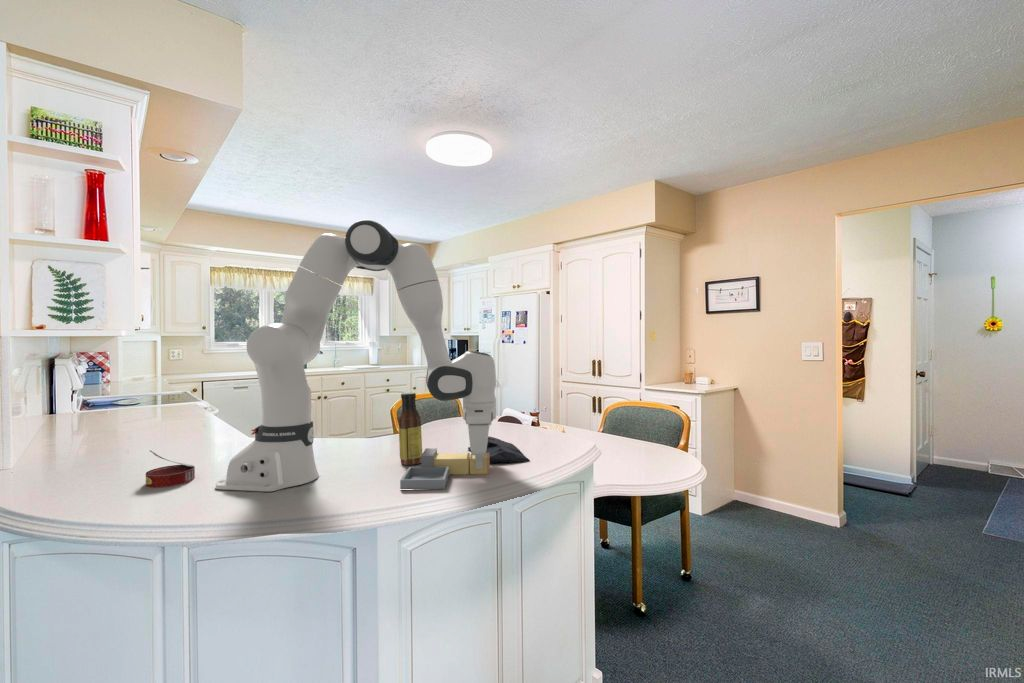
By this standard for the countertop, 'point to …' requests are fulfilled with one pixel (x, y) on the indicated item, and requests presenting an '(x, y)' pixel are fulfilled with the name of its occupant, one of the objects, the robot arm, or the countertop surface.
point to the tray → (425, 478)
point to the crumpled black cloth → (503, 451)
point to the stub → (485, 465)
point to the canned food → (170, 475)
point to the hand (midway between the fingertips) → (479, 464)
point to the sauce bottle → (410, 431)
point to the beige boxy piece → (446, 461)
